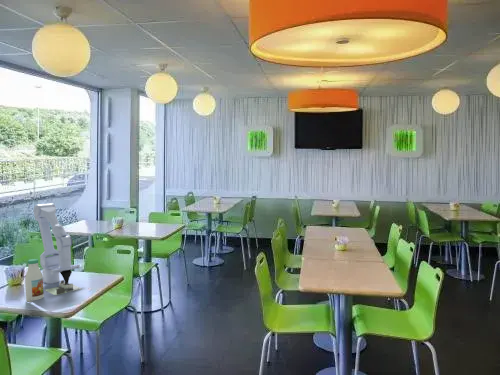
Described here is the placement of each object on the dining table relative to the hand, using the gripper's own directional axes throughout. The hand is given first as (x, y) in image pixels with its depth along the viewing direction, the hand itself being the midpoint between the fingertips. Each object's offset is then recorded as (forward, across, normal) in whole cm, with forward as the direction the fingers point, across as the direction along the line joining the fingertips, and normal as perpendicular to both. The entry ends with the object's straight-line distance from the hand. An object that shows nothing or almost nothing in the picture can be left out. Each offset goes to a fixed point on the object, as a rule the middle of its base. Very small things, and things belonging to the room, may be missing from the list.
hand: (66, 284), depth 228 cm
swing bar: (+1, -1, -3) cm, 3 cm away
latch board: (+2, -3, -3) cm, 5 cm away
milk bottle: (+2, -18, -6) cm, 19 cm away
